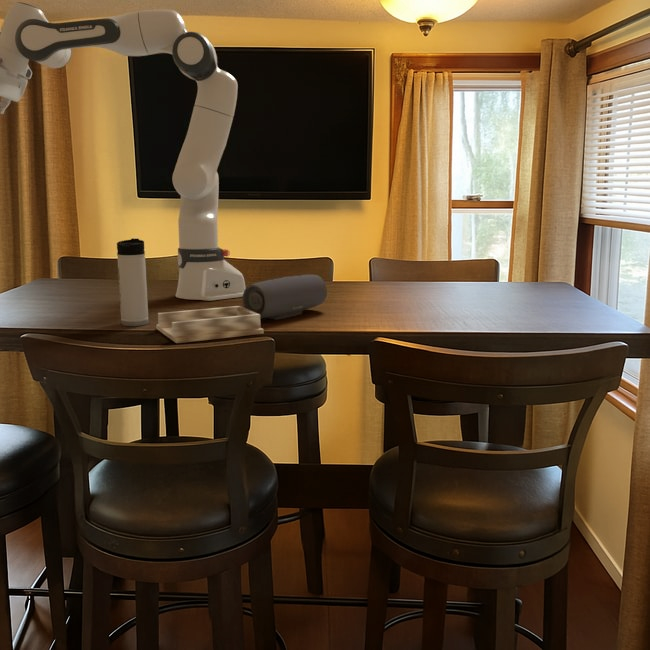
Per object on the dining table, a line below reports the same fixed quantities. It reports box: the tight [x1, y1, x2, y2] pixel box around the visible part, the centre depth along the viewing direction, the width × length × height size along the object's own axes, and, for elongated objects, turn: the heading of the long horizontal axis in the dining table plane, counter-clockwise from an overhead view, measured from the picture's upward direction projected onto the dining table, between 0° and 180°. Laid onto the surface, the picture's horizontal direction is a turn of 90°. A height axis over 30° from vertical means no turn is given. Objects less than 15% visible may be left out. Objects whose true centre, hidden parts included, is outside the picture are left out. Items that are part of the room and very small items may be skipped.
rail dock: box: [155, 305, 265, 344], centre depth 156 cm, size 20×16×4 cm
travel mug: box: [116, 238, 149, 327], centre depth 162 cm, size 6×7×20 cm
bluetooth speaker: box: [241, 274, 328, 320], centre depth 173 cm, size 23×9×10 cm, turn 141°
